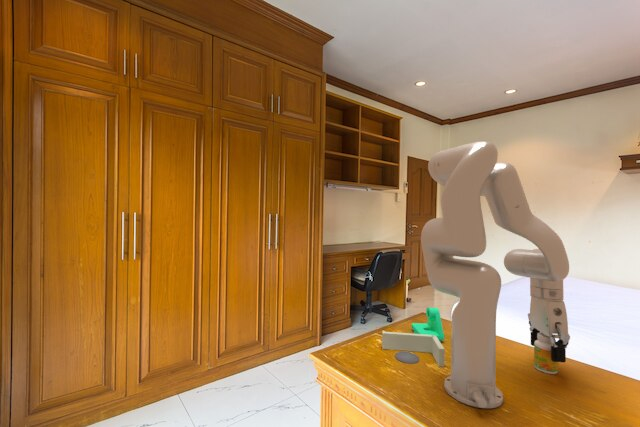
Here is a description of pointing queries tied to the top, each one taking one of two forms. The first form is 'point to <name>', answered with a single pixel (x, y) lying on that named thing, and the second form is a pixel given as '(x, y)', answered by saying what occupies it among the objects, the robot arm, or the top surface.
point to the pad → (407, 357)
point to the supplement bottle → (544, 355)
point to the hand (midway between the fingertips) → (547, 353)
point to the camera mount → (430, 324)
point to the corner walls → (414, 344)
